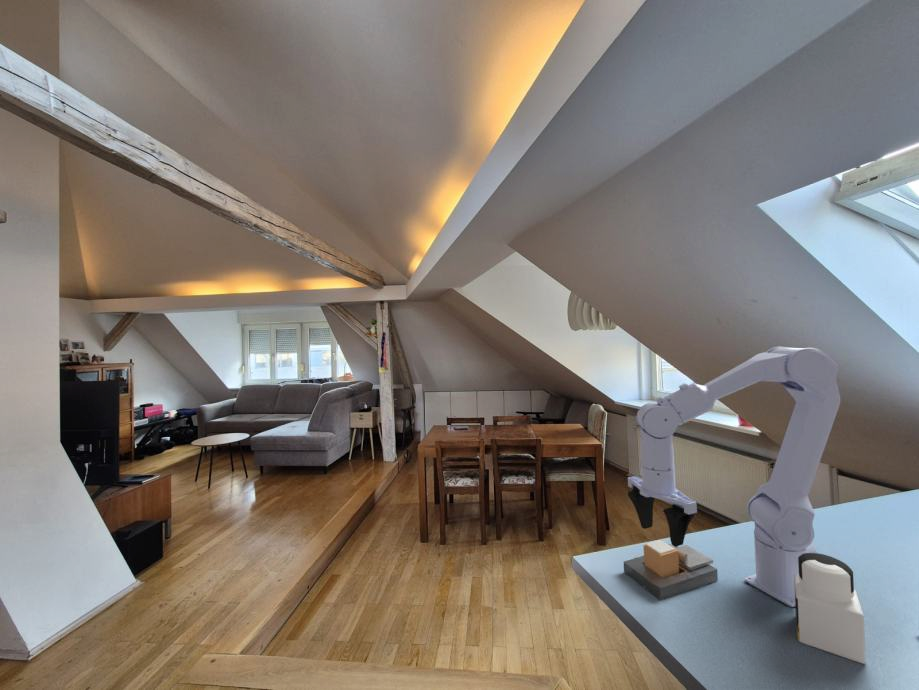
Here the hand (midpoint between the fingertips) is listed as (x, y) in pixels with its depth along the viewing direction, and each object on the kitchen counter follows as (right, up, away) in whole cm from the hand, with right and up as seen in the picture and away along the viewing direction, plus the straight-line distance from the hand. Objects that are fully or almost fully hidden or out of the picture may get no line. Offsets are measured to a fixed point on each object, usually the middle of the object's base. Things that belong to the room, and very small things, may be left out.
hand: (661, 535), depth 74 cm
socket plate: (+2, -8, +1) cm, 9 cm away
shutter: (+6, -6, +2) cm, 9 cm away
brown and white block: (0, -8, 0) cm, 8 cm away
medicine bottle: (+17, -8, -16) cm, 25 cm away
